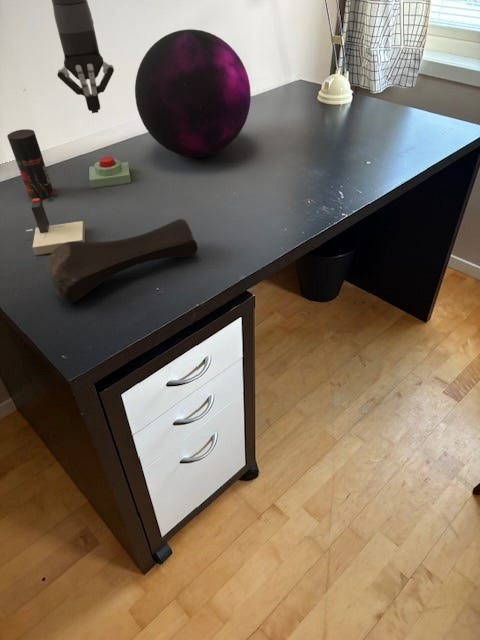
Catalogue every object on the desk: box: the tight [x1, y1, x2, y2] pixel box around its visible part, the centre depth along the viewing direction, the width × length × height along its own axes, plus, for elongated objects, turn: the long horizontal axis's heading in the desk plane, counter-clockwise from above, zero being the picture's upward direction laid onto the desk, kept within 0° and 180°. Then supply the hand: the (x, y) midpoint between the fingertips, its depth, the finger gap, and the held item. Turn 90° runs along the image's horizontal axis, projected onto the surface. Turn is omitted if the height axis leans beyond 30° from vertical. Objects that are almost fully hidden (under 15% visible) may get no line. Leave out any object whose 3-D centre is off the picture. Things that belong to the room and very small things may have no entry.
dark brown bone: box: [48, 218, 199, 303], centre depth 90 cm, size 11×10×28 cm
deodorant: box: [7, 128, 55, 201], centre depth 114 cm, size 6×6×15 cm
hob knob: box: [30, 198, 50, 233], centre depth 100 cm, size 4×2×6 cm, turn 14°
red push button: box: [98, 155, 115, 168], centre depth 121 cm, size 4×4×2 cm
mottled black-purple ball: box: [134, 28, 252, 158], centre depth 125 cm, size 30×30×30 cm
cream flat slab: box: [25, 220, 86, 256], centre depth 102 cm, size 12×11×2 cm
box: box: [88, 158, 132, 189], centre depth 123 cm, size 10×8×4 cm
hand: (95, 111), depth 113 cm, fingers closed
